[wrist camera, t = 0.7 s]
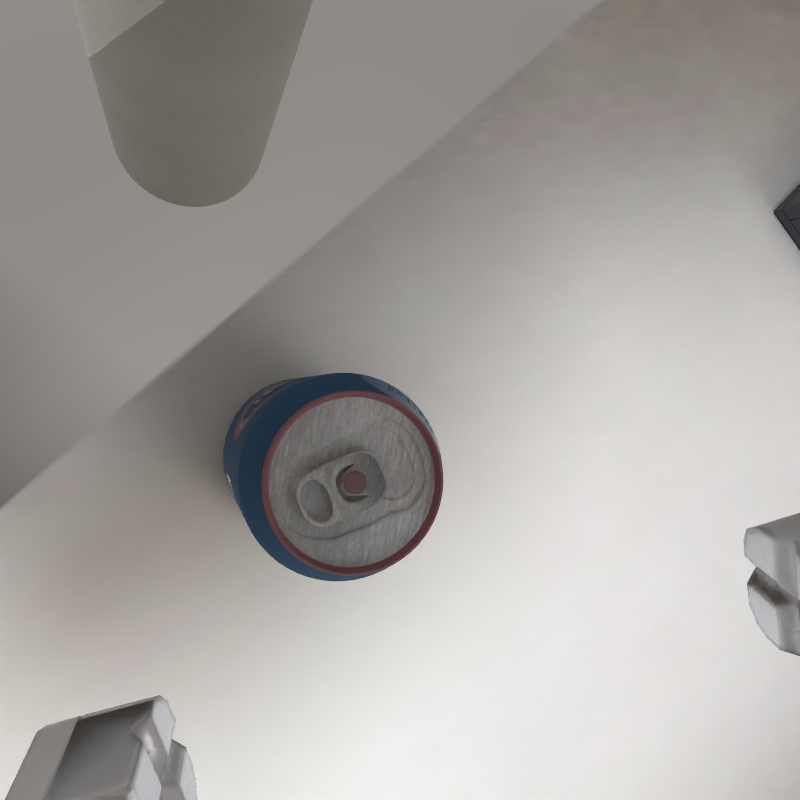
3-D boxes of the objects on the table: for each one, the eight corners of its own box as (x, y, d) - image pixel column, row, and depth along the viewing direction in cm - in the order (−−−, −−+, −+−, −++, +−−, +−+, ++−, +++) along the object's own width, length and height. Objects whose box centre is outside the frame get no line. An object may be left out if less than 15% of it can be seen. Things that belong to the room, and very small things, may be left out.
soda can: (335, 356, 34) (412, 336, 22) (391, 487, 35) (493, 533, 23) (196, 415, 32) (202, 426, 21) (259, 552, 33) (298, 637, 21)
